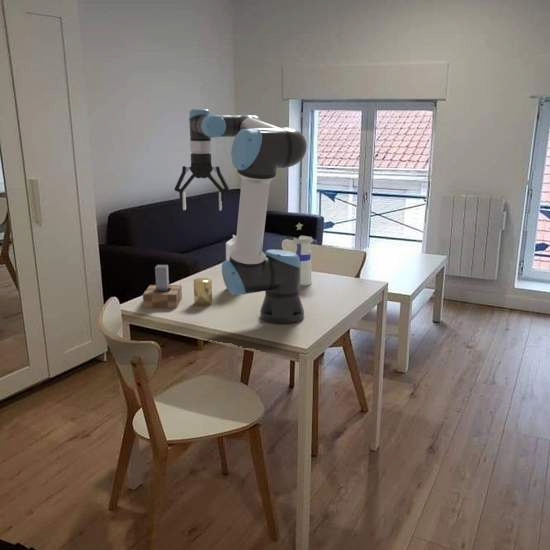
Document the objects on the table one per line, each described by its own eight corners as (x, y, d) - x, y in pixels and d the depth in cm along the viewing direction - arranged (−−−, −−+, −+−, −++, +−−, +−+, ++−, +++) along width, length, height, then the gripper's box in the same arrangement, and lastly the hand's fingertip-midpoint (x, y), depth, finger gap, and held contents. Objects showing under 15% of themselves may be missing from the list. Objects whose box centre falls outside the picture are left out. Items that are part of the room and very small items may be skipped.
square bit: (167, 304, 208) (166, 267, 205) (156, 304, 208) (155, 267, 205) (169, 300, 212) (168, 264, 208) (159, 300, 212) (157, 264, 208)
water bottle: (287, 283, 236) (288, 224, 229) (300, 278, 242) (301, 221, 236) (303, 286, 231) (304, 226, 224) (315, 282, 237) (317, 223, 230)
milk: (240, 286, 231) (240, 233, 225) (245, 290, 225) (245, 236, 219) (226, 288, 228) (225, 234, 223) (230, 292, 223) (230, 237, 217)
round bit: (211, 306, 206) (210, 282, 204) (193, 306, 206) (192, 282, 204) (213, 300, 213) (212, 277, 210) (195, 300, 213) (194, 277, 210)
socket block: (176, 307, 205) (176, 294, 203) (143, 307, 204) (142, 294, 203) (181, 297, 216) (181, 285, 215) (150, 297, 216) (149, 285, 215)
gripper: (235, 152, 212) (236, 208, 218) (168, 151, 212) (171, 208, 218) (234, 153, 205) (234, 211, 211) (165, 153, 205) (167, 211, 210)
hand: (202, 209), depth 214 cm, fingers open, 13 cm apart
